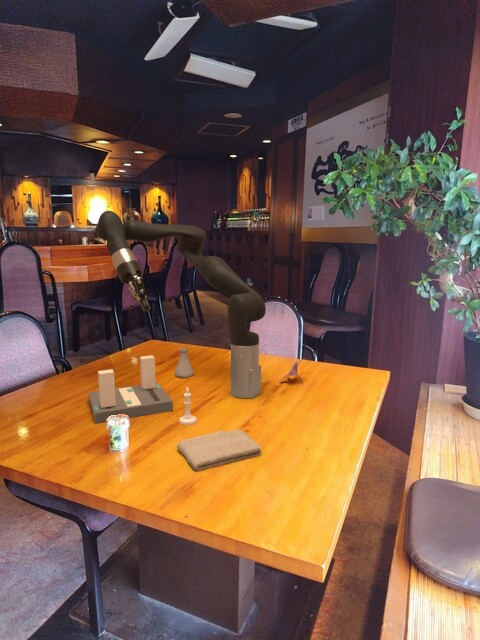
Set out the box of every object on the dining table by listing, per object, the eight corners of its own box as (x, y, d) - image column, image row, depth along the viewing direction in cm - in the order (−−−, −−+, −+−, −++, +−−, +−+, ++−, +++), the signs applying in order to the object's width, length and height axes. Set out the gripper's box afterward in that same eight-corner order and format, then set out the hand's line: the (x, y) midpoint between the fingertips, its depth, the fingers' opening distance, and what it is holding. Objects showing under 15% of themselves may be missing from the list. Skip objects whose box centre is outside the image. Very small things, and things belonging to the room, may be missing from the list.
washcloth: (264, 456, 103) (264, 444, 103) (194, 475, 95) (194, 462, 94) (241, 436, 114) (241, 425, 113) (176, 451, 105) (176, 439, 105)
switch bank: (89, 401, 136) (88, 391, 135) (158, 391, 145) (157, 382, 144) (95, 423, 120) (95, 412, 119) (172, 410, 129) (172, 400, 128)
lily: (301, 378, 161) (290, 357, 161) (319, 375, 152) (308, 352, 152) (281, 393, 155) (269, 371, 155) (299, 390, 146) (286, 367, 146)
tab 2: (141, 386, 139) (139, 356, 137) (153, 384, 141) (152, 355, 139) (143, 389, 137) (141, 359, 135) (155, 387, 138) (154, 357, 136)
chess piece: (182, 426, 118) (181, 391, 116) (176, 419, 122) (175, 386, 121) (199, 422, 120) (198, 388, 118) (192, 416, 125) (192, 383, 123)
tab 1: (100, 404, 125) (97, 371, 123) (114, 402, 126) (112, 369, 124) (101, 407, 122) (99, 374, 120) (115, 405, 124) (113, 372, 122)
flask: (197, 374, 162) (197, 348, 160) (185, 379, 156) (184, 352, 154) (183, 371, 166) (182, 345, 164) (170, 376, 160) (169, 350, 158)
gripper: (115, 278, 147) (134, 322, 142) (116, 258, 135) (138, 305, 131) (136, 272, 150) (156, 315, 145) (139, 252, 138) (161, 297, 134)
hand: (147, 310), depth 138 cm, fingers closed
